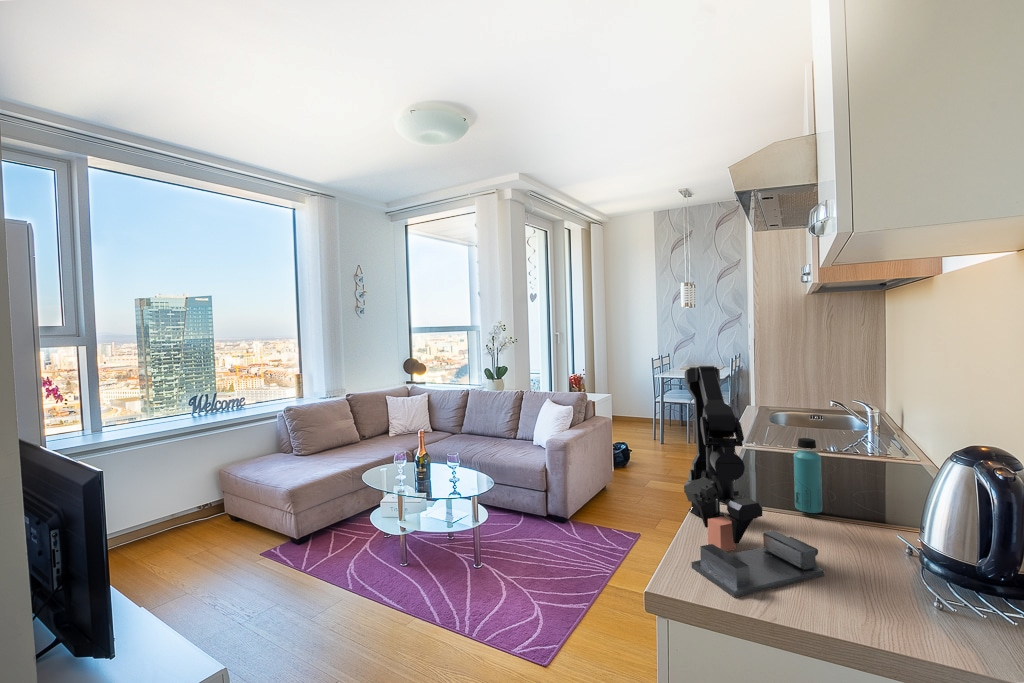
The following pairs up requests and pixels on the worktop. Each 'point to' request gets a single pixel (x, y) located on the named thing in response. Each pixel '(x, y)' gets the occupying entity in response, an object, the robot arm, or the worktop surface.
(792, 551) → the sliding jaw
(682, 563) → the worktop surface
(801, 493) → the beverage bottle
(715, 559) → the vise base
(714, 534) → the brick-red block
